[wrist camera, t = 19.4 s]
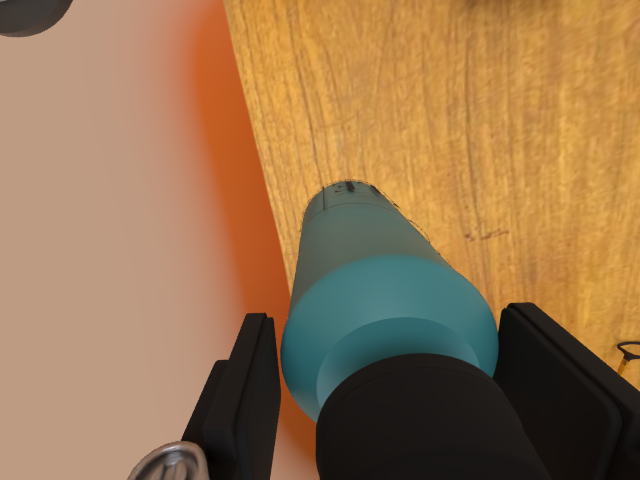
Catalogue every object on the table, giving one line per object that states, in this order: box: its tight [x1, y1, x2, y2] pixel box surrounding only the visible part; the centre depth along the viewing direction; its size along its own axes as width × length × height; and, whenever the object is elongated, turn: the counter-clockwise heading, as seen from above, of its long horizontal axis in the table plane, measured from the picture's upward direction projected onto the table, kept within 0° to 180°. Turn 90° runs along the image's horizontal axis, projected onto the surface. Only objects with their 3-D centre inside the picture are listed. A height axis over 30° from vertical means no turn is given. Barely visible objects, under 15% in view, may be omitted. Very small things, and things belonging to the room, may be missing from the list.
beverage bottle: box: [280, 179, 552, 480], centre depth 15 cm, size 6×7×20 cm
